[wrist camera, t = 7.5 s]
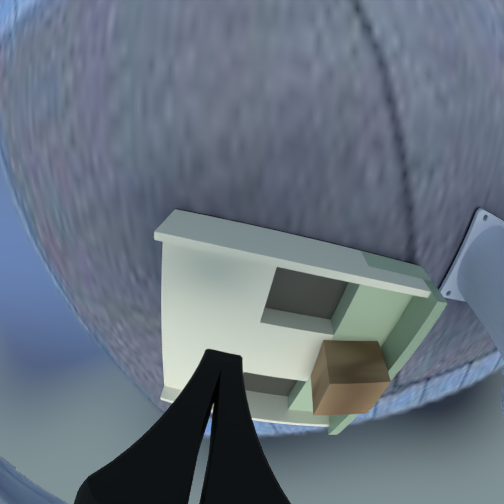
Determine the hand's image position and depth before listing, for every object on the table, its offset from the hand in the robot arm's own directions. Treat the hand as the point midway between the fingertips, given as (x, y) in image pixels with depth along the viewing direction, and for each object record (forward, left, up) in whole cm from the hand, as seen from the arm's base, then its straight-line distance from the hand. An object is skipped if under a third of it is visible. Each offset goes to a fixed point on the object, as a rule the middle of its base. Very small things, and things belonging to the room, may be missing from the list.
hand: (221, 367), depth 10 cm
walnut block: (-10, +7, -7) cm, 14 cm away
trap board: (-4, +7, -9) cm, 12 cm away
